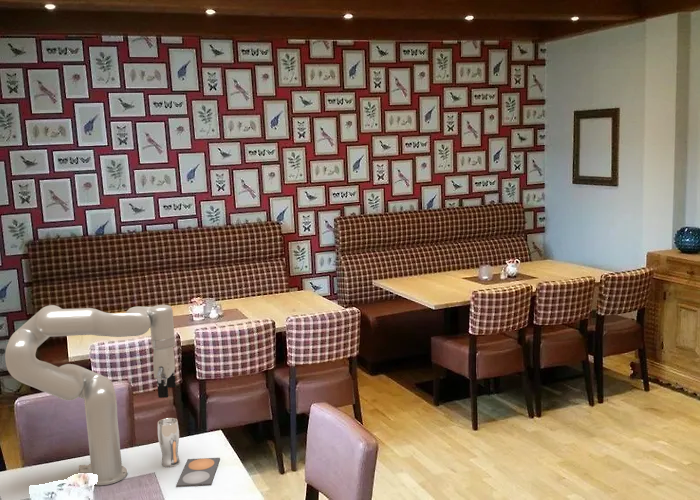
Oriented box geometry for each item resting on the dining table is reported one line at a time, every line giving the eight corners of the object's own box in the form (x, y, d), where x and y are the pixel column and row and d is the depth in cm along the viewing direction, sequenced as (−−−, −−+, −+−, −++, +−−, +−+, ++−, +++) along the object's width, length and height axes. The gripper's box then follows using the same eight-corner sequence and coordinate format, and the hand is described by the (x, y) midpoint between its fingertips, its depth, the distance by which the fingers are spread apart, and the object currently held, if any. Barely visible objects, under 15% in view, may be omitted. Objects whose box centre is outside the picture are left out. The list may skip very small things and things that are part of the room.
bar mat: (176, 487, 225) (176, 484, 225) (187, 460, 244) (187, 458, 244) (211, 485, 225) (210, 483, 225) (220, 459, 244) (219, 457, 244)
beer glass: (175, 468, 238) (172, 425, 236) (156, 467, 240) (153, 425, 238) (184, 459, 245) (181, 418, 243) (165, 458, 246) (162, 417, 244)
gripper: (159, 336, 244) (162, 384, 246) (144, 350, 227) (148, 401, 229) (180, 335, 244) (184, 383, 246) (167, 349, 227) (172, 401, 229)
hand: (167, 392), depth 238 cm, fingers open, 9 cm apart
